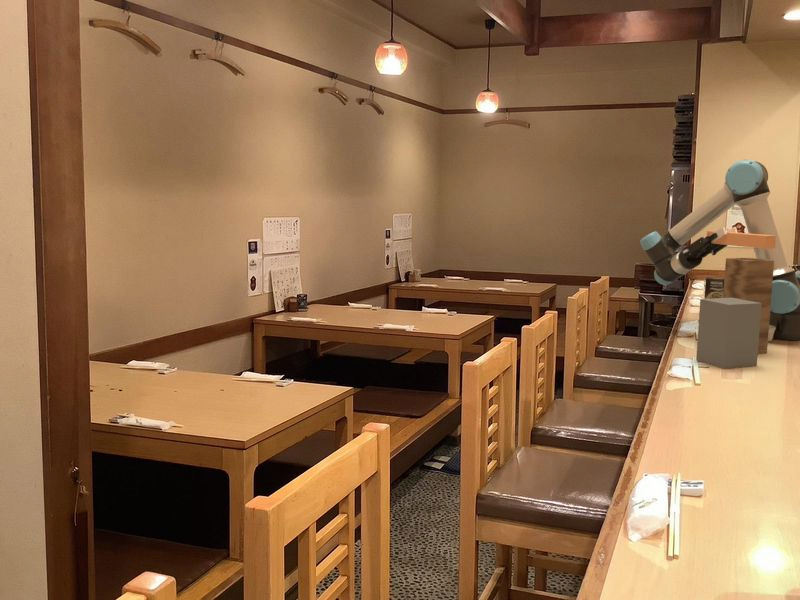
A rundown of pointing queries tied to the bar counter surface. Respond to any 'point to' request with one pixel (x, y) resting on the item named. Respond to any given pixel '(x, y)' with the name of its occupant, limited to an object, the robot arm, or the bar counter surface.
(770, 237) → the beam
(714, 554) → the bar counter surface
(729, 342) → the low post
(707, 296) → the coffee box
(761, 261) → the tall post
